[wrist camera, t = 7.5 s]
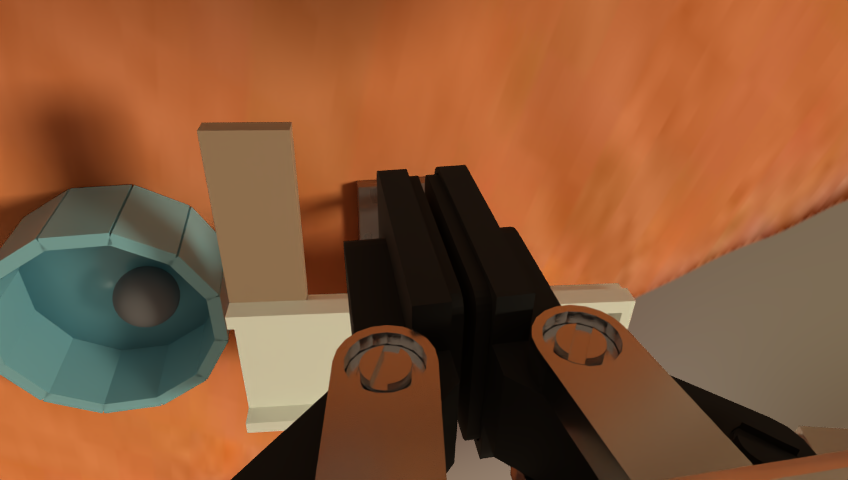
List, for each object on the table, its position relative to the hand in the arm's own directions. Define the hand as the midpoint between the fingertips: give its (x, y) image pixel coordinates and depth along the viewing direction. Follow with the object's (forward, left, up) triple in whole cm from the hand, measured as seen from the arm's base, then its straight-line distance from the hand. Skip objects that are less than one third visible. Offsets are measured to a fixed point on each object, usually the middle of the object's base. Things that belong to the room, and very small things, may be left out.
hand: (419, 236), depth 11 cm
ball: (+13, +18, -24) cm, 32 cm away
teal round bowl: (+15, +18, -26) cm, 35 cm away
